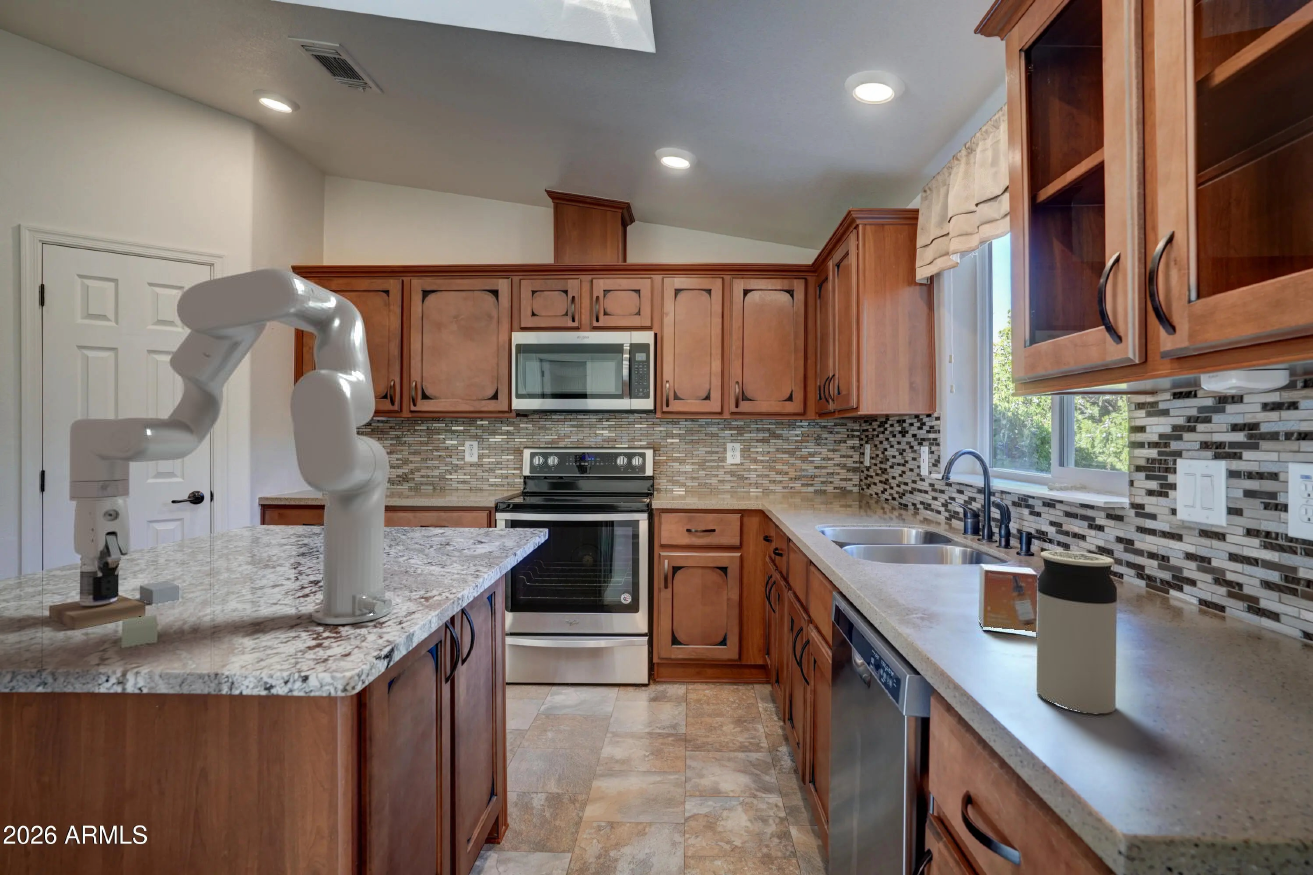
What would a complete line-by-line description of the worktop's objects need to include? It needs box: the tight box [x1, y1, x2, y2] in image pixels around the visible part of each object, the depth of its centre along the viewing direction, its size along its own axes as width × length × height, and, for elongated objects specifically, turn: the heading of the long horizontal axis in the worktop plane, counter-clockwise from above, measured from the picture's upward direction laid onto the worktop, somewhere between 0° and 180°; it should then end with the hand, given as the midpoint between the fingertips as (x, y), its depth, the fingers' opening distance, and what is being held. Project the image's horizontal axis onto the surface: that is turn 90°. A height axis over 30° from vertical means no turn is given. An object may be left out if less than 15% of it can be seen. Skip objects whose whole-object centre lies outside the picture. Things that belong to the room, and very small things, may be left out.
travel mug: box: [1036, 550, 1118, 714], centre depth 73 cm, size 8×8×18 cm
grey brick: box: [139, 580, 180, 605], centre depth 112 cm, size 6×4×3 cm, turn 59°
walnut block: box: [48, 593, 147, 630], centre depth 101 cm, size 12×9×2 cm
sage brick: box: [121, 614, 159, 649], centre depth 90 cm, size 6×4×3 cm, turn 42°
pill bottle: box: [79, 554, 117, 606], centre depth 101 cm, size 5×5×8 cm
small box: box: [978, 563, 1039, 632], centre depth 101 cm, size 8×6×10 cm
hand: (99, 595), depth 101 cm, fingers closed on pill bottle, 4 cm apart
